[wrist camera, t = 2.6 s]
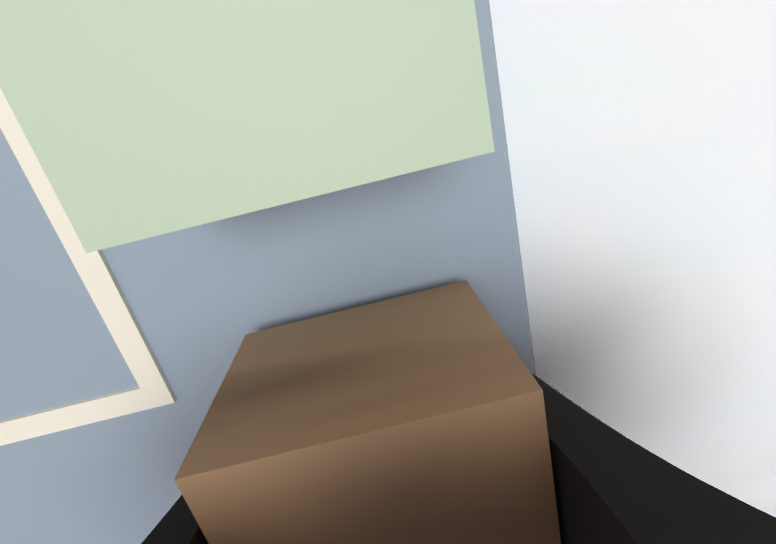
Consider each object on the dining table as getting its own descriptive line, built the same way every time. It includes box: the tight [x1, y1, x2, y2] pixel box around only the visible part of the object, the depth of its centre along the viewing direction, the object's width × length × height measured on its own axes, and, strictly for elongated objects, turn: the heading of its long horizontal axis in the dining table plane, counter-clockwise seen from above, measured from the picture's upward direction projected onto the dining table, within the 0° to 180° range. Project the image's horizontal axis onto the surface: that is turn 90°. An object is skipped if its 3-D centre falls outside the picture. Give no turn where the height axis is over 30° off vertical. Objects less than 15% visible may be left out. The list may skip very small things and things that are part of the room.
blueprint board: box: [0, 0, 536, 544], centre depth 10 cm, size 20×18×1 cm
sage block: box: [0, 0, 495, 253], centre depth 6 cm, size 5×5×4 cm
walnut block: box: [174, 281, 561, 544], centre depth 8 cm, size 5×5×4 cm
